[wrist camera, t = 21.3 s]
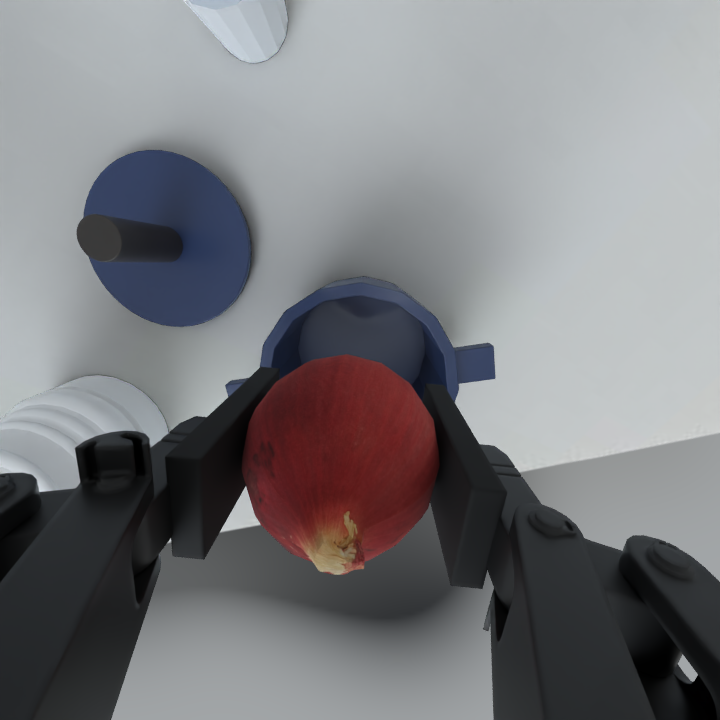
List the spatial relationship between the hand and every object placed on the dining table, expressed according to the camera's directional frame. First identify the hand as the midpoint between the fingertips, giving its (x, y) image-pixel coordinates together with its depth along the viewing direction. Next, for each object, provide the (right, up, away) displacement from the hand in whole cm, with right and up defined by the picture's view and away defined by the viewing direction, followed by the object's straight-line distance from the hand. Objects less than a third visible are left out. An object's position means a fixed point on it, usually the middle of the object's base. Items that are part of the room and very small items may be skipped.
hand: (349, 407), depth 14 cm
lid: (-16, +12, +16) cm, 26 cm away
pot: (+1, +3, +19) cm, 19 cm away
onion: (0, 0, 0) cm, 0 cm away
